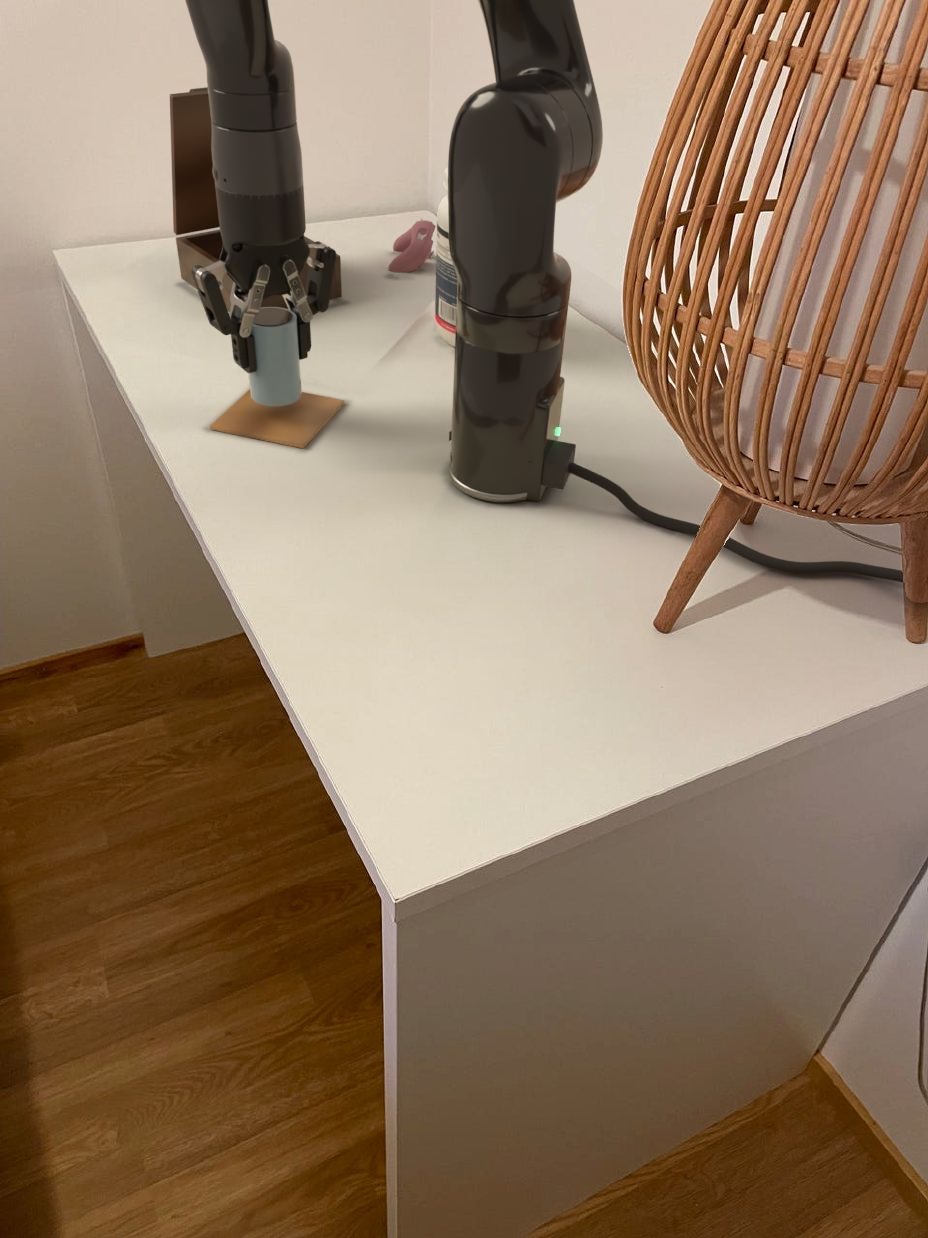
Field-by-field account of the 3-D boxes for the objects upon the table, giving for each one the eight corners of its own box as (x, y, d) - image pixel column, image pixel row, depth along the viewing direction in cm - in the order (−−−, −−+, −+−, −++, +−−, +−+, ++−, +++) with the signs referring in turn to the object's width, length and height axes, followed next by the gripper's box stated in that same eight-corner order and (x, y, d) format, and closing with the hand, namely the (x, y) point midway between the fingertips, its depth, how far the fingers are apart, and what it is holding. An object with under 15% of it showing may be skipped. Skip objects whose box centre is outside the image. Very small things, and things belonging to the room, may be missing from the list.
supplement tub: (545, 319, 120) (561, 160, 108) (538, 364, 110) (555, 194, 98) (441, 310, 121) (446, 150, 109) (425, 353, 111) (429, 183, 99)
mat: (344, 403, 101) (344, 399, 101) (303, 448, 93) (303, 444, 93) (256, 386, 103) (256, 382, 103) (209, 429, 95) (209, 425, 95)
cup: (310, 388, 98) (305, 310, 93) (288, 410, 94) (282, 330, 89) (265, 379, 99) (258, 302, 94) (241, 400, 96) (233, 321, 90)
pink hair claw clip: (416, 291, 129) (441, 244, 125) (385, 274, 128) (409, 226, 124) (419, 264, 137) (443, 219, 133) (390, 248, 135) (413, 202, 131)
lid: (283, 84, 113) (261, 65, 115) (172, 97, 106) (152, 75, 108) (275, 216, 126) (256, 196, 128) (176, 235, 119) (157, 213, 121)
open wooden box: (342, 303, 121) (340, 255, 117) (242, 327, 114) (237, 277, 110) (277, 264, 130) (274, 218, 127) (182, 284, 123) (175, 237, 120)
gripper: (202, 203, 78) (225, 396, 89) (353, 177, 85) (357, 359, 96) (161, 178, 82) (188, 365, 93) (308, 156, 90) (317, 332, 100)
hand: (274, 361), depth 95 cm, fingers closed on cup, 5 cm apart
